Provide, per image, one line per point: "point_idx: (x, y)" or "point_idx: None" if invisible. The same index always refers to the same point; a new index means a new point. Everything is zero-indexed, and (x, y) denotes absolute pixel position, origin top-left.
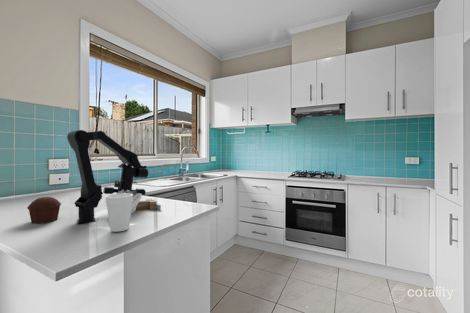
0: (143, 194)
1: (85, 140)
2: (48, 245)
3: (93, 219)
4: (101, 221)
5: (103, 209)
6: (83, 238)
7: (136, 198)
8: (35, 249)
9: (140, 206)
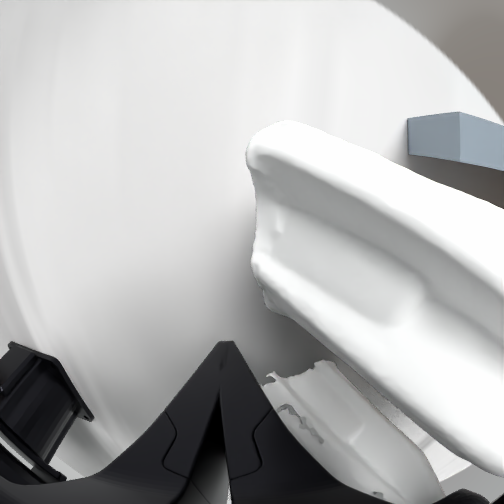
0: (501, 502)
1: None
2: (90, 473)
3: (75, 406)
4: (123, 434)
5: (56, 37)
6: None
7: (430, 486)
8: (81, 471)
9: None
